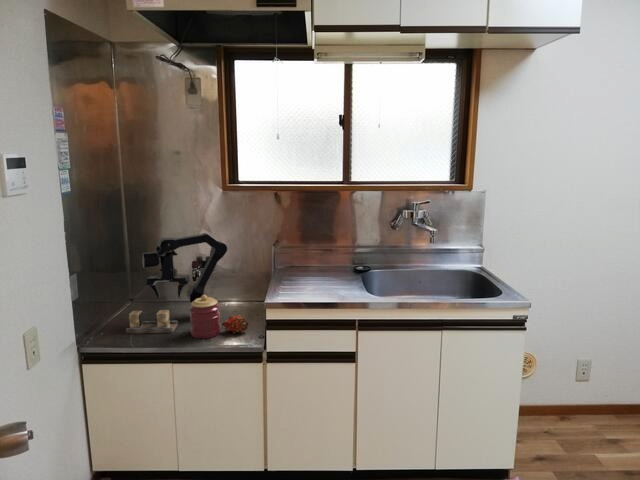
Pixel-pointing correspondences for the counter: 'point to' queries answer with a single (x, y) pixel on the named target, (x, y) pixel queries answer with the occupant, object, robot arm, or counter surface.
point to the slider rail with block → (147, 325)
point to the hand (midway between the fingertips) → (169, 298)
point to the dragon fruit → (236, 324)
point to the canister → (205, 317)
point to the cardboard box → (162, 318)
